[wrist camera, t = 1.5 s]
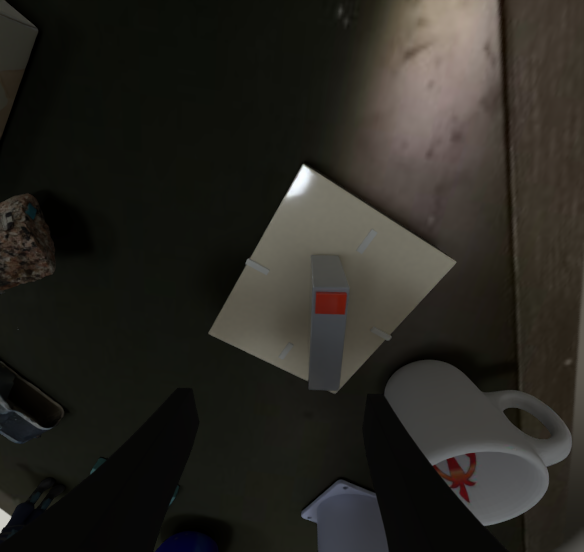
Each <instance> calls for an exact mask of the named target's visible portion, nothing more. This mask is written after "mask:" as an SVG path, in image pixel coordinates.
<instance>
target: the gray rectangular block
mask: <svg viewBox="0 0 584 552" xmlns="http://www.w3.org/2000/svg"><path fill="white" fill-rule="evenodd" d="M349 292H350V288H349V285H348V282H347V279H346V275H345V272H344V269H343V266H342V263H341V260H340V257H339V256H336V255H311V260H310V287H309V315H308V389H309V390H328V391H339V386H340V377H341V367H342V358H343V349H344V339H345V330H346V320H347V311H348V301H349Z"/></svg>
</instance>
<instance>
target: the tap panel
mask: <svg viewBox="0 0 584 552" xmlns="http://www.w3.org/2000/svg"><path fill="white" fill-rule="evenodd" d="M311 255H336V256H339V257H340V260H341V263H342V266H343V269H344V272H345V275H346V279H347V282H348V285H349V288H350V292H349V301H348V311H347V320H346V330H345V339H344V349H343V358H342V367H341V377H340V386H339V389H340V388H341V387H342V386H343V385H344V384H345V383H346V382H347V381H348V380H349V379H350V378H351V376H352V375H353V374H354V373H355V372H356V371H357V370H358V369H359V368H360V367H361V366H362V365H363V363H364V362H365V361H366V360H367V359H368V358H369V357H370V356H371V355H372V354H373V353H374V352H375V350H376V349H377V348H378V347H379V346H380V345H381V344H382V343H383V342H384V341H385V340H387V341H389V340H390V339H391V338H392V336H391V335H390V334H391V333H392V332H393V331H394V330H395V329H396V328H397V327H398V326H399V324H400V323H401V322H402V321H403V320H404V319H405V318H406V317H407V316H408V315H409V314H410V313H411V311H412V310H413V309H414V308H415V307H416V306H417V305H418V304H419V303H420V302H421V301H422V299H423V298H424V297H425V296H426V295H427V294H428V293H429V292H430V291H431V290H432V289H433V288H434V286H435V285H436V284H437V283H438V282H439V281H440V280H441V279H442V278H443V277H444V276H445V275H446V273H447V272H448V271H449V270H450V269H451V268H452V267H453V266H454V265H455V264H456V261H455V260H454V259H452V258H451V257H450V256H448V255H447V254H446V253H444V252H443V251H441V250H440V249H439V248H437V247H436V246H435V245H433V244H432V243H430V242H429V241H427V240H425V239H424V238H422V237H421V236H419V235H418V234H416V233H414V232H413V231H411V230H410V229H408V228H407V227H405V226H404V225H402V224H400V223H399V222H397V221H396V220H394V219H393V218H391V217H390V216H388V215H386V214H385V213H383V212H382V211H380V210H379V209H377V208H376V207H374V206H372V205H371V204H369V203H368V202H366V201H365V200H363V199H361V198H360V197H358V196H357V195H355V194H354V193H352V192H351V191H349V190H347V189H346V188H344V187H343V186H341V185H340V184H338V183H337V182H335V181H333V180H332V179H330V178H329V177H327V176H326V175H324V174H323V173H321V172H319V171H318V170H316V169H315V168H313V167H312V166H310V165H308V164H307V163H305V162H303V163H302V164H301V166H300V168H299V170H298V172H297V173H296V175H295V177H294V179H293V181H292V182H291V184H290V186H289V188H288V190H287V191H286V193H285V195H284V197H283V199H282V200H281V202H280V204H279V206H278V208H277V209H276V211H275V213H274V215H273V217H272V218H271V220H270V222H269V224H268V226H267V227H266V229H265V231H264V233H263V235H262V236H261V238H260V240H259V242H258V244H257V245H256V247H255V249H254V251H253V252H252V254H251V256H250V258H248V259H247V261H246V263H245V264H246V265H245V267H244V269H243V270H242V272H241V274H240V276H239V278H238V279H237V281H236V283H235V285H234V287H233V288H232V290H231V292H230V294H229V296H228V297H227V299H226V301H225V303H224V305H223V306H222V308H221V310H220V312H219V314H218V316H217V318H216V319H215V321H214V323H213V325H212V327H211V329H210V331H209V333H208V334H210V335H212V336H214V337H216V338H218V339H220V340H222V341H224V342H226V343H229V344H231V345H233V346H235V347H237V348H239V349H241V350H243V351H245V352H247V353H250V354H252V355H254V356H256V357H258V358H260V359H262V360H264V361H266V362H268V363H271V364H273V365H275V366H277V367H279V368H281V369H283V370H285V371H287V372H289V373H292V374H294V375H296V376H298V377H300V378H302V379H304V380H306V381H308V315H309V287H310V260H311ZM327 391H328V390H327ZM329 392H331V393H334V394H336V393H337V392H338V391H329Z"/></svg>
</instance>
